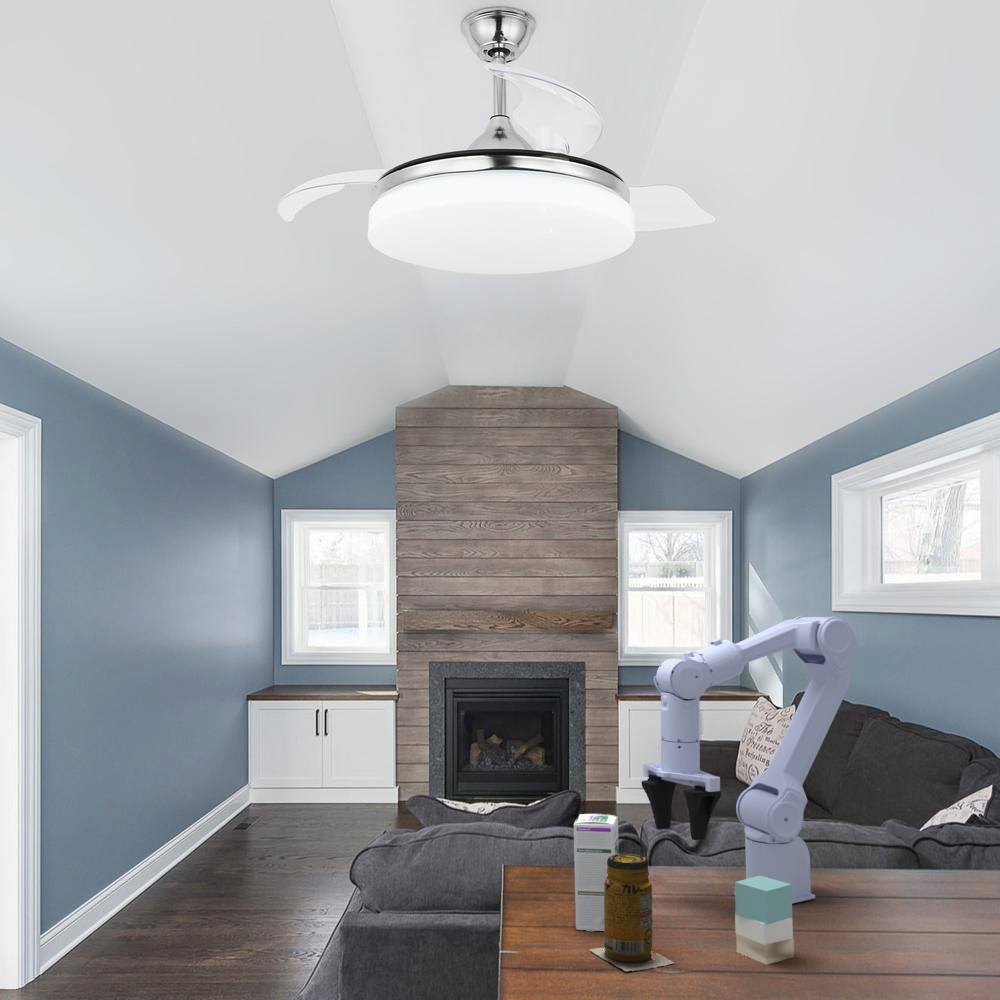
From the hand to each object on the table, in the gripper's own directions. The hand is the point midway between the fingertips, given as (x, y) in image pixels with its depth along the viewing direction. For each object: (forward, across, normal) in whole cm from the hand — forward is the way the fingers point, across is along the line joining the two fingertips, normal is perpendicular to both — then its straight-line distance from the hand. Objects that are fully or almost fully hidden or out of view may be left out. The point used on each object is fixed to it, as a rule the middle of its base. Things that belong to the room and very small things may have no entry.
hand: (680, 833), depth 145 cm
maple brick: (+11, +20, -4) cm, 23 cm away
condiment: (+11, +12, -20) cm, 25 cm away
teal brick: (+6, +20, -4) cm, 22 cm away
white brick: (+8, +20, -4) cm, 22 cm away
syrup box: (+11, 0, -16) cm, 19 cm away
